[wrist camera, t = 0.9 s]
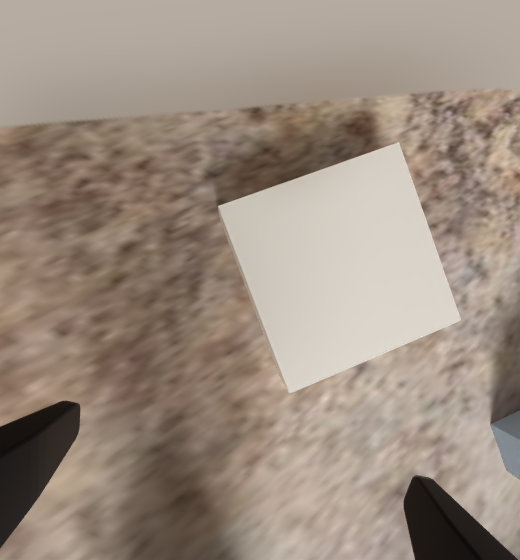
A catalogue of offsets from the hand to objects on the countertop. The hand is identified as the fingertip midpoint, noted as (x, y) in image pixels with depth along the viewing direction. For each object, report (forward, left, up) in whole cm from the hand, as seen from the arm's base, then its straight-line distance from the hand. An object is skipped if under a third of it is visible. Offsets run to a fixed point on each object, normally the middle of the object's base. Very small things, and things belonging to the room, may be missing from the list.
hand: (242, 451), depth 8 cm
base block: (+2, -8, -14) cm, 17 cm away
